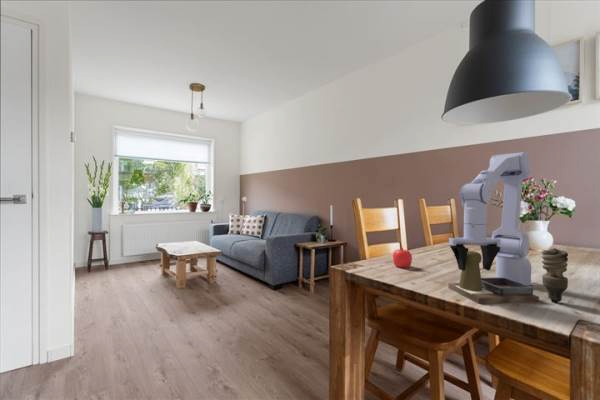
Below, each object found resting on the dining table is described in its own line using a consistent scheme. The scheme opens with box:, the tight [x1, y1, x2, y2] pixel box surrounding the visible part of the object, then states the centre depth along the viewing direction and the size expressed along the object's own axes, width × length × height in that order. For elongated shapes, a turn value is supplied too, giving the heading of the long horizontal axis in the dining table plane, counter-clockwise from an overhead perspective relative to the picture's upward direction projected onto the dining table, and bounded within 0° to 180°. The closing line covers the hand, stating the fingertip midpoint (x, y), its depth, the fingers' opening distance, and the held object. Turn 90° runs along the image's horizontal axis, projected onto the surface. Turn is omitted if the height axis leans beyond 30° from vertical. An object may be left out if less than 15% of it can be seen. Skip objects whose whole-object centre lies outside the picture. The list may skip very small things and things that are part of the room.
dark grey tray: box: [481, 276, 534, 296], centre depth 83 cm, size 10×10×2 cm
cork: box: [458, 250, 483, 291], centre depth 83 cm, size 6×6×11 cm
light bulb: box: [540, 247, 569, 304], centre depth 77 cm, size 6×6×15 cm
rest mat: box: [456, 286, 494, 294], centre depth 82 cm, size 7×7×1 cm
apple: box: [392, 247, 413, 269], centre depth 115 cm, size 8×8×8 cm
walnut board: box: [447, 282, 540, 305], centre depth 82 cm, size 18×13×2 cm
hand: (474, 269), depth 82 cm, fingers open, 7 cm apart
